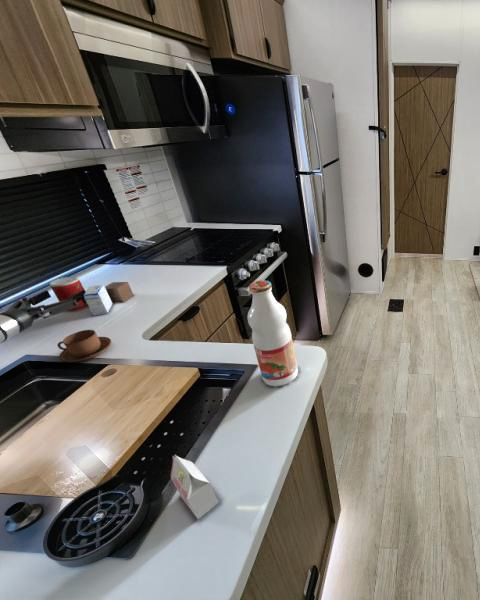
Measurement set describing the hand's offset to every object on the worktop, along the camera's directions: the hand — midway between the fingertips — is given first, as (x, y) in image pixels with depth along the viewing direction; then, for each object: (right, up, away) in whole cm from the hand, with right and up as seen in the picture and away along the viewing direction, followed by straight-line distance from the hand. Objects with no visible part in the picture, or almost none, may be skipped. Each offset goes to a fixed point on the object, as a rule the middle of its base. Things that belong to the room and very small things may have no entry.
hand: (67, 293), depth 122 cm
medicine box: (+12, -6, +2) cm, 14 cm away
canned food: (0, -5, +4) cm, 7 cm away
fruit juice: (+91, -24, -31) cm, 99 cm away
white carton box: (+87, -40, -61) cm, 113 cm away
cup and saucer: (+29, -19, -22) cm, 40 cm away
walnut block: (+12, -2, +10) cm, 15 cm away
